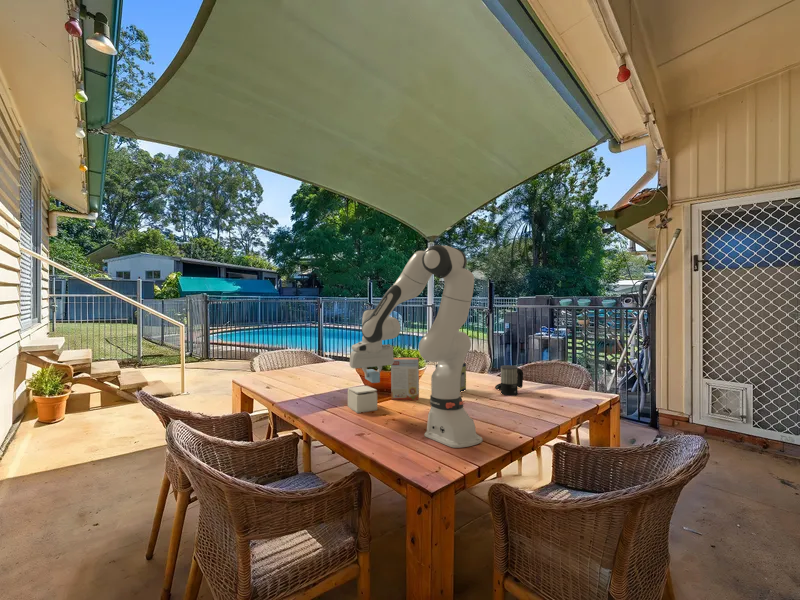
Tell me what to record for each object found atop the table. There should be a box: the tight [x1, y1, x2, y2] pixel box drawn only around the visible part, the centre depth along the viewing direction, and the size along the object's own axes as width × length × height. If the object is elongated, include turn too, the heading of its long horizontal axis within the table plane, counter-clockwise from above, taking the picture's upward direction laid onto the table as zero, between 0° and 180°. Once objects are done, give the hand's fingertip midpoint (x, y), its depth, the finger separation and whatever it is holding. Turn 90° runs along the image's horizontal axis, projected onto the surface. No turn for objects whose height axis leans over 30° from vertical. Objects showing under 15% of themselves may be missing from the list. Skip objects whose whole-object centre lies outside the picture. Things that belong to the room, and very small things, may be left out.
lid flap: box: [347, 385, 378, 394], centre depth 178 cm, size 12×10×1 cm
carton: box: [347, 389, 378, 414], centre depth 178 cm, size 12×10×8 cm
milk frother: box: [495, 364, 524, 396], centre depth 207 cm, size 14×16×15 cm
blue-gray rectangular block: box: [364, 368, 381, 384], centre depth 167 cm, size 10×4×4 cm, turn 23°
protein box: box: [435, 362, 467, 393], centre depth 208 cm, size 10×16×16 cm
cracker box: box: [390, 357, 420, 401], centre depth 195 cm, size 14×6×21 cm, turn 84°
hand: (372, 376), depth 167 cm, fingers closed on blue-gray rectangular block, 4 cm apart
